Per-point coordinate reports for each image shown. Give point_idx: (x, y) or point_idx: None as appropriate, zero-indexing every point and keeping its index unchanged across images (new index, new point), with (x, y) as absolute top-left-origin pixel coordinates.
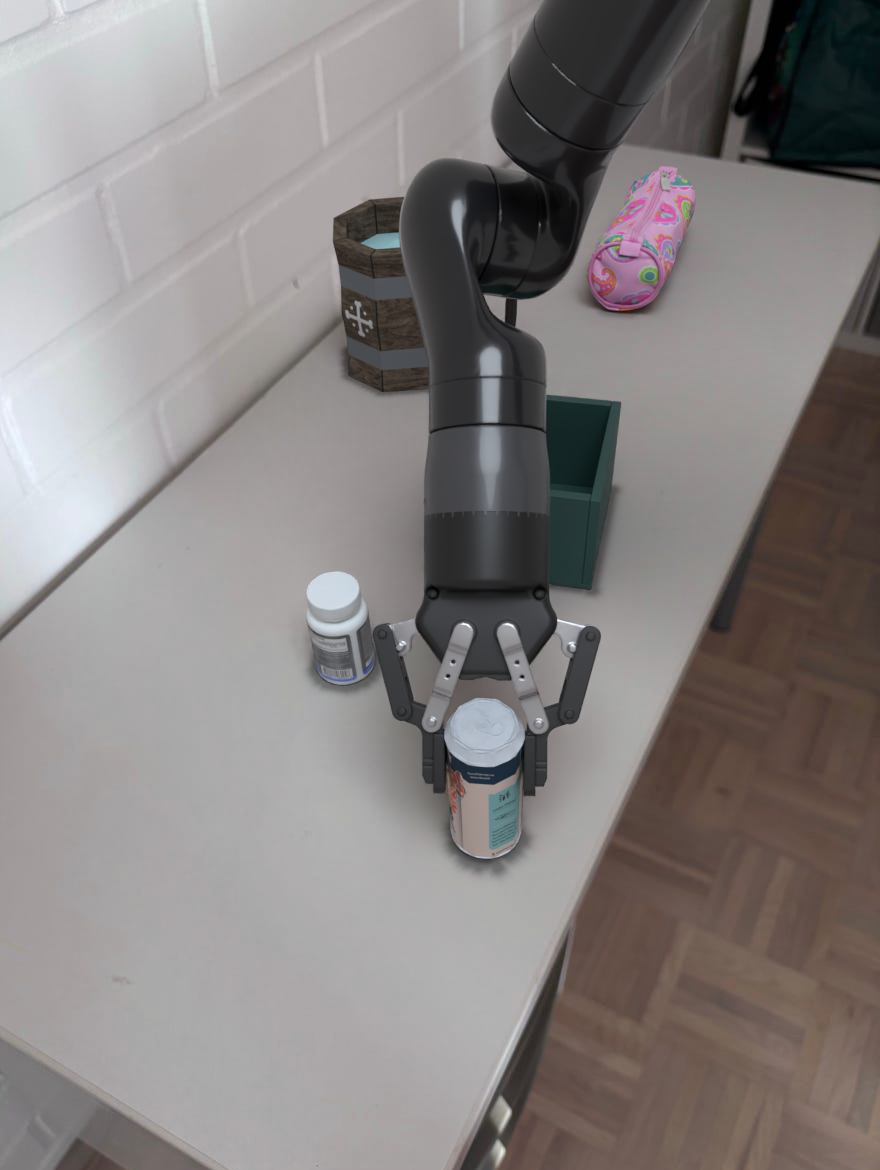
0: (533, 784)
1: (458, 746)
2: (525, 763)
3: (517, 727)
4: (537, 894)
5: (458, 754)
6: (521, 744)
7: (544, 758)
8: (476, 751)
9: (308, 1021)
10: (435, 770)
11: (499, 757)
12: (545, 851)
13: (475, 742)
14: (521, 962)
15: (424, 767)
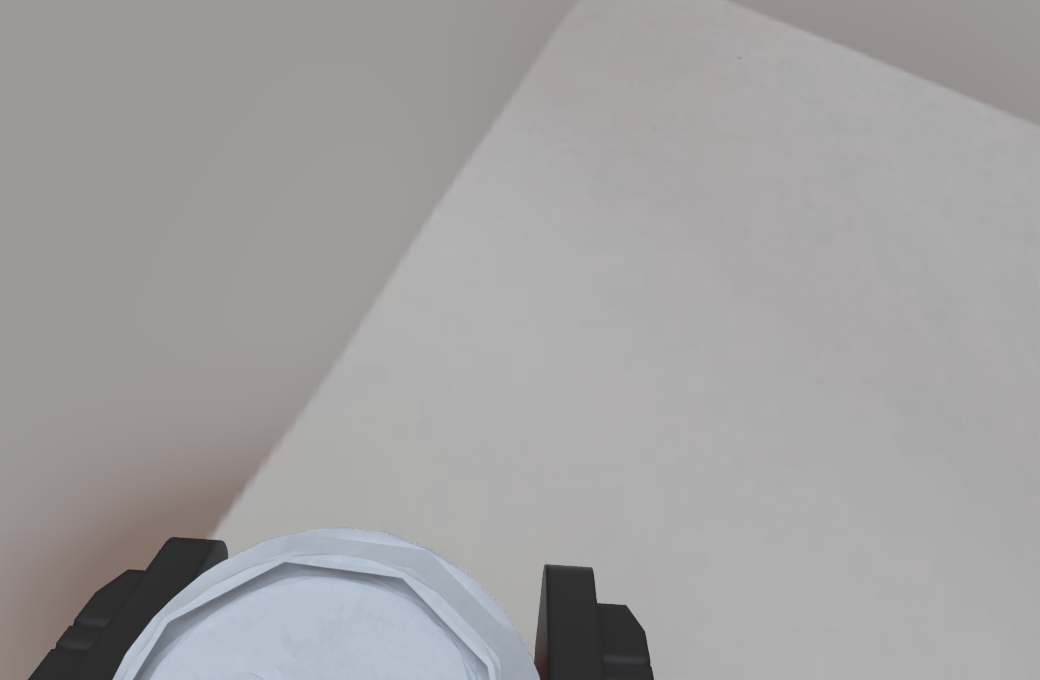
0: (162, 559)
1: (475, 622)
2: None
3: None
4: (302, 522)
5: (478, 603)
6: (123, 662)
7: (56, 658)
8: (376, 563)
9: (803, 259)
10: (589, 627)
11: (260, 556)
12: None
13: (374, 627)
14: (368, 359)
15: (639, 656)
